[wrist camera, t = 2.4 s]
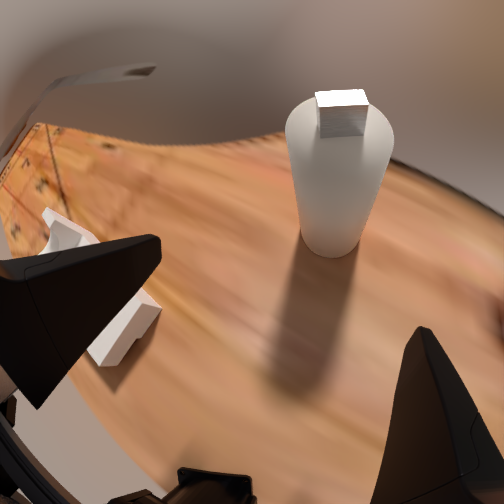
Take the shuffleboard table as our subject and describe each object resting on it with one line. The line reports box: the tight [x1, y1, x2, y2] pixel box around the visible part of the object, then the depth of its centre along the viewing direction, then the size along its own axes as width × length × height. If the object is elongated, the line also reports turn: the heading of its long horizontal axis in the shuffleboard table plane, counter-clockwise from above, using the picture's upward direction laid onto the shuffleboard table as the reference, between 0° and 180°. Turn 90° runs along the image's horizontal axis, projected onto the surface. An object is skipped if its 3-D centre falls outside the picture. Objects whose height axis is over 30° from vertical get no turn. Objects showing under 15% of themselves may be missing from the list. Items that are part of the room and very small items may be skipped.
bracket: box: [38, 207, 162, 367], centre depth 22 cm, size 13×7×8 cm, turn 52°
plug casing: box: [285, 90, 394, 258], centre depth 16 cm, size 5×5×14 cm
